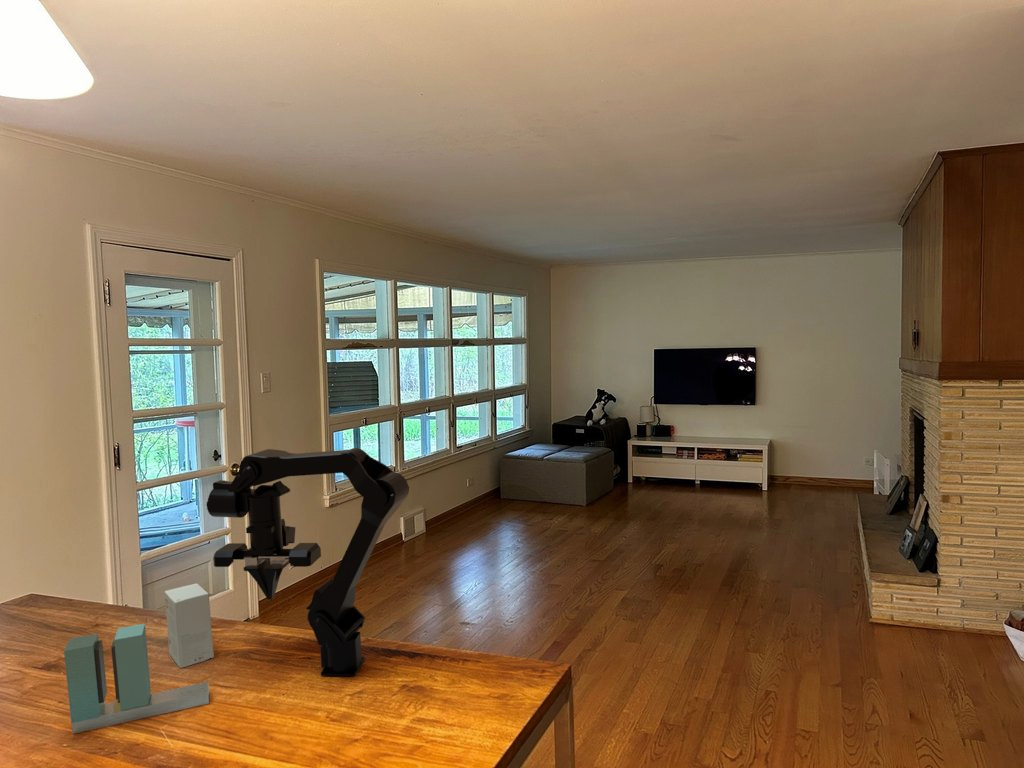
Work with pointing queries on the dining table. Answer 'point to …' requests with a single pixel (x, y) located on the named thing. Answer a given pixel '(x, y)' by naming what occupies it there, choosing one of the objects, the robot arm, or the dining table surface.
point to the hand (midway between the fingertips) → (270, 598)
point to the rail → (91, 691)
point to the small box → (189, 625)
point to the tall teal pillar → (131, 667)
